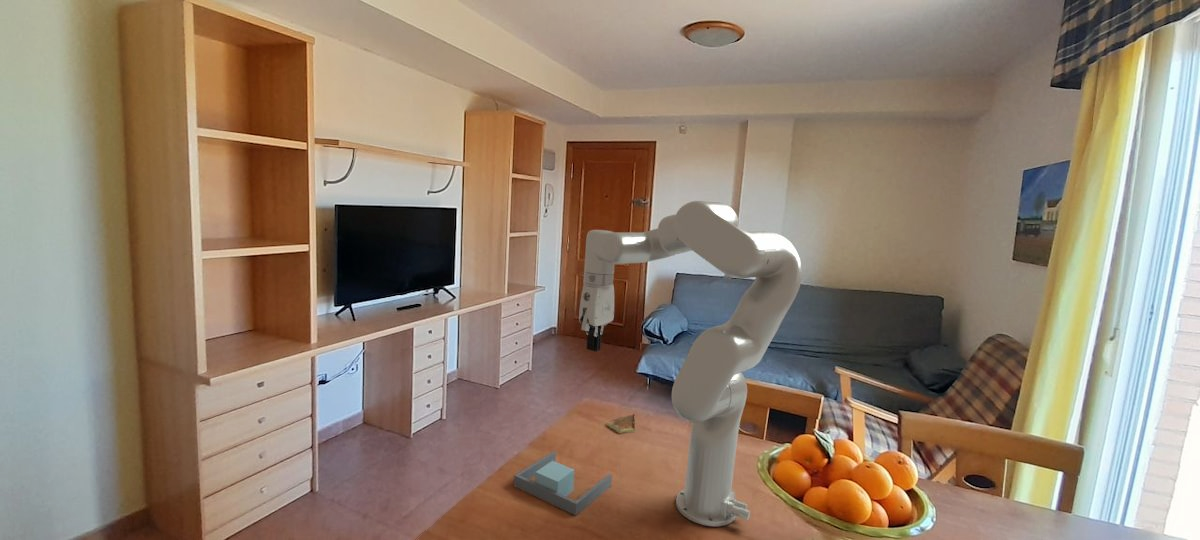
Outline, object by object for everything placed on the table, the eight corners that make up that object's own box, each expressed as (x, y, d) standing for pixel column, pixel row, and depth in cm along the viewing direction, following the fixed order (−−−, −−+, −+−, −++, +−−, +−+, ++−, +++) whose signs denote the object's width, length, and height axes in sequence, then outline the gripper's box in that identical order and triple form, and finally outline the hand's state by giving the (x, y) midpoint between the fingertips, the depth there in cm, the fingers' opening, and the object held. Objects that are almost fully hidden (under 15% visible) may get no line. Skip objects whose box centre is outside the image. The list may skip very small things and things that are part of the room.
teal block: (573, 491, 110) (574, 469, 109) (556, 504, 105) (558, 481, 104) (551, 481, 113) (552, 460, 112) (534, 493, 108) (535, 471, 107)
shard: (633, 418, 150) (634, 412, 150) (651, 428, 144) (652, 422, 144) (605, 426, 143) (606, 420, 143) (623, 437, 137) (623, 431, 137)
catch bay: (611, 485, 113) (612, 475, 112) (575, 515, 101) (576, 504, 101) (552, 460, 122) (553, 451, 121) (513, 486, 110) (514, 475, 110)
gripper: (594, 284, 118) (589, 359, 121) (626, 278, 131) (620, 346, 133) (569, 279, 122) (564, 352, 125) (601, 274, 135) (596, 341, 137)
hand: (593, 349), depth 129 cm, fingers closed
